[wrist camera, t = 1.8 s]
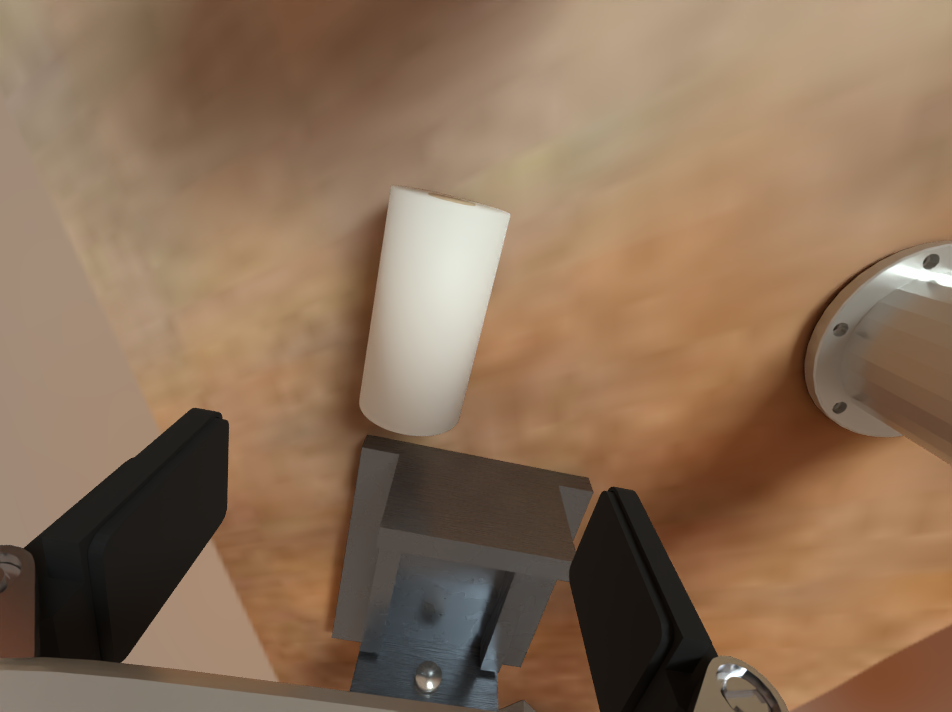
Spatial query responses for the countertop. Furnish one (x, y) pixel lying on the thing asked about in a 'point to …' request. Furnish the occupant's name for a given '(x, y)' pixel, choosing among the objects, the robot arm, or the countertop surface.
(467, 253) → the kitchen roll
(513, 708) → the white stand
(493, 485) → the roll holder
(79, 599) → the robot arm
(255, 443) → the countertop surface
